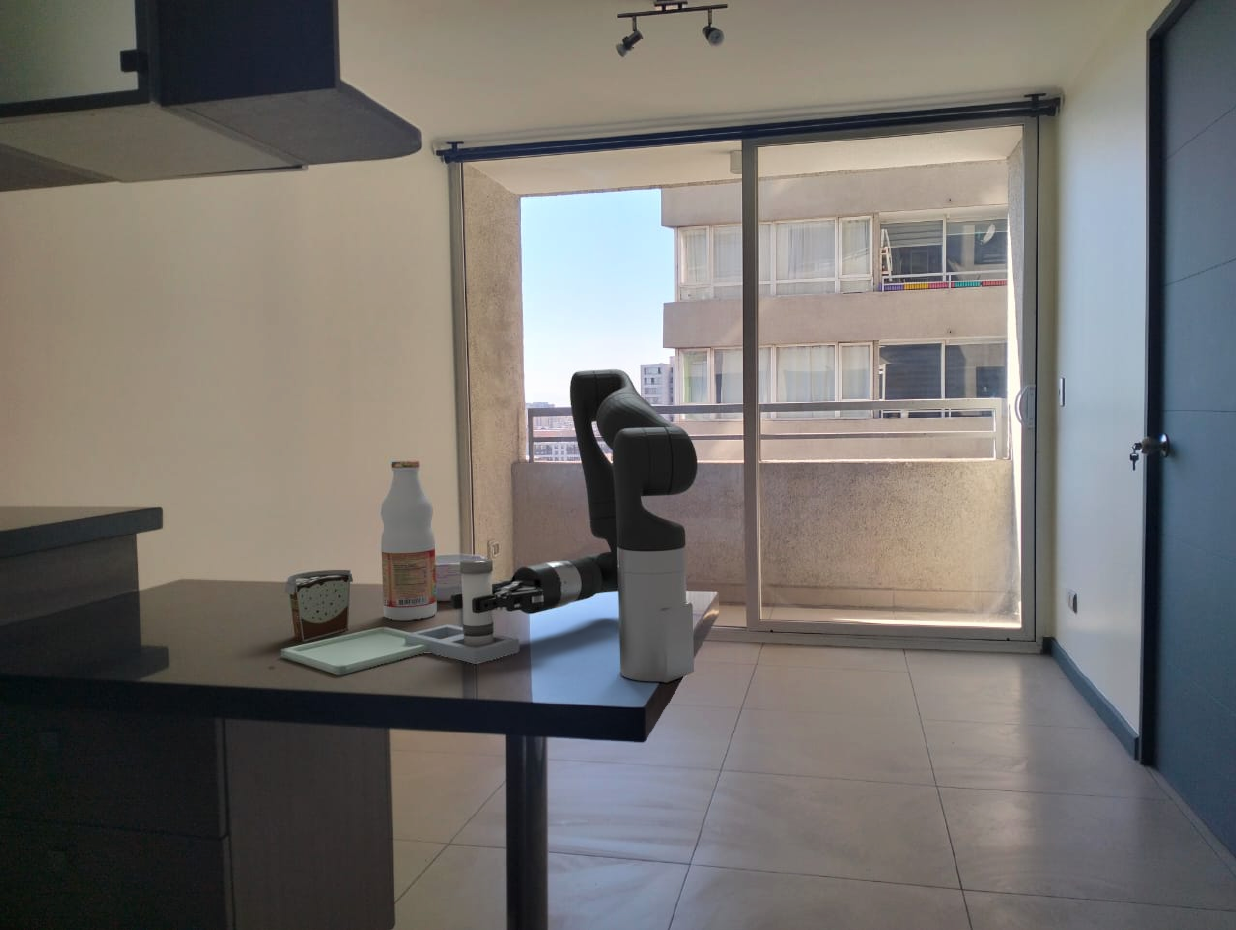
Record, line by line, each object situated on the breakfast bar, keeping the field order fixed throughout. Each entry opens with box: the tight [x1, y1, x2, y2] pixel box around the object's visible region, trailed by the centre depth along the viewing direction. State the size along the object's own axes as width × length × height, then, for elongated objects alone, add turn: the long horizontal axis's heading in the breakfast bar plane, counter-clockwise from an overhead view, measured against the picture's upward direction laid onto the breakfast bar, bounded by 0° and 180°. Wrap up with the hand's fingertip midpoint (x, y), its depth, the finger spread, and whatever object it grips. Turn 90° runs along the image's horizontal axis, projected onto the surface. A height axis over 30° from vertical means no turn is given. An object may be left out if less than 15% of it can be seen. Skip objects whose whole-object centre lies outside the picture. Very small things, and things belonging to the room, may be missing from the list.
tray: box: [280, 626, 427, 676], centre depth 133 cm, size 16×18×1 cm
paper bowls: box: [435, 553, 487, 602], centre depth 175 cm, size 15×15×8 cm
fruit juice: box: [380, 460, 438, 621], centre depth 158 cm, size 9×9×28 cm
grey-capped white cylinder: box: [460, 558, 495, 648], centre depth 131 cm, size 5×5×14 cm
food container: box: [284, 569, 354, 643], centre depth 146 cm, size 12×6×10 cm, turn 149°
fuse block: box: [405, 623, 520, 664], centre depth 134 cm, size 17×8×2 cm, turn 49°
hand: (463, 604), depth 129 cm, fingers closed on grey-capped white cylinder, 4 cm apart
